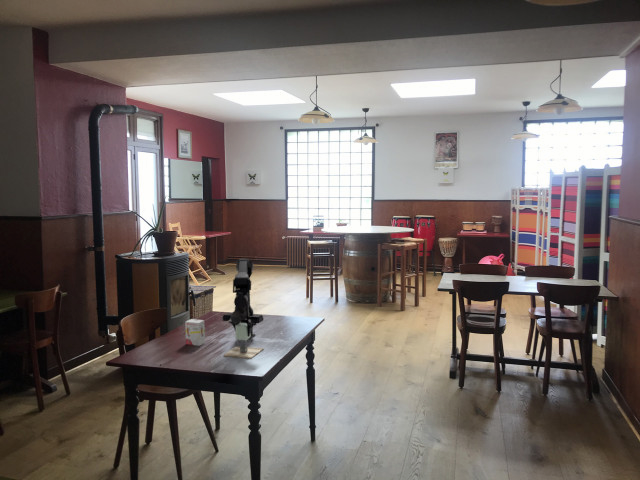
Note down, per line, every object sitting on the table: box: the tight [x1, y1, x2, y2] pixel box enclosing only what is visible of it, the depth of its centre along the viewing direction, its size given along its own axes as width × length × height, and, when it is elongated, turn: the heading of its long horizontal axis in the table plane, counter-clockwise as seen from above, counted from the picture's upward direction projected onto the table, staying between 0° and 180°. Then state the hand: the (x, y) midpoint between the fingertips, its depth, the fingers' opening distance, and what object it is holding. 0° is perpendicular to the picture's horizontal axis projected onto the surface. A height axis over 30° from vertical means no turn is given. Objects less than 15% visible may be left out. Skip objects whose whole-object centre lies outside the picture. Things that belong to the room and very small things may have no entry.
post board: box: [223, 345, 264, 360], centre depth 243 cm, size 14×14×1 cm
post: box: [239, 339, 248, 353], centre depth 243 cm, size 3×3×6 cm
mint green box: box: [234, 322, 251, 341], centre depth 242 cm, size 5×5×7 cm
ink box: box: [184, 318, 206, 347], centre depth 258 cm, size 9×5×12 cm, turn 68°
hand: (243, 335), depth 242 cm, fingers closed on mint green box, 5 cm apart
